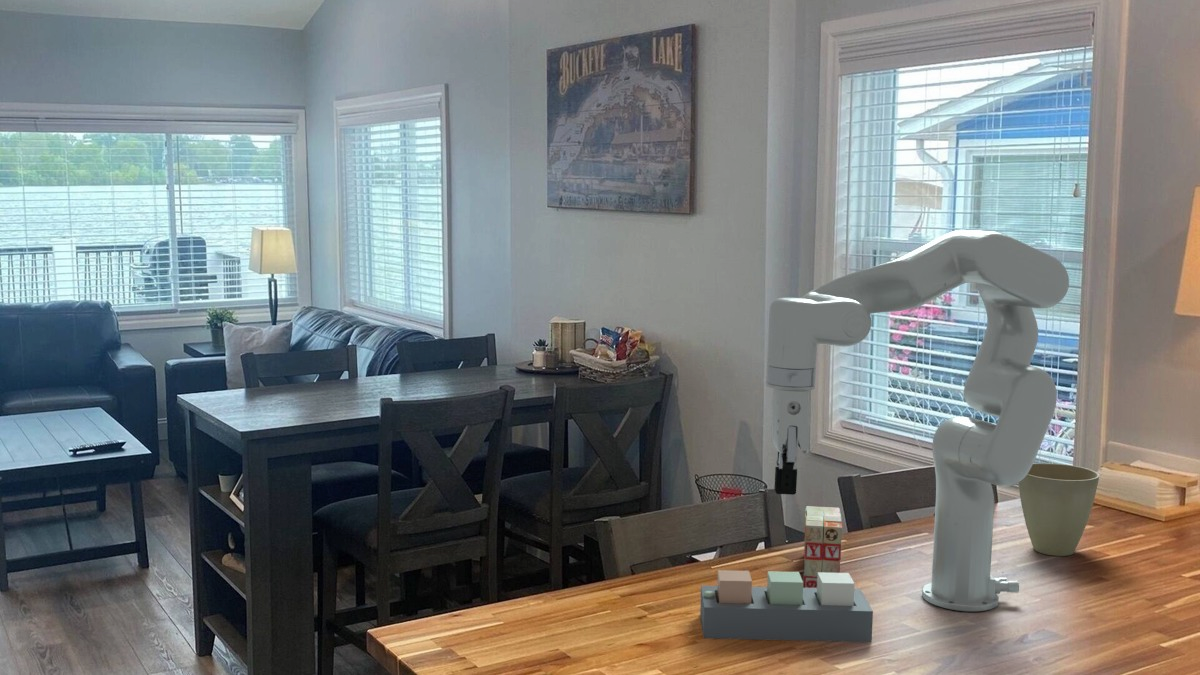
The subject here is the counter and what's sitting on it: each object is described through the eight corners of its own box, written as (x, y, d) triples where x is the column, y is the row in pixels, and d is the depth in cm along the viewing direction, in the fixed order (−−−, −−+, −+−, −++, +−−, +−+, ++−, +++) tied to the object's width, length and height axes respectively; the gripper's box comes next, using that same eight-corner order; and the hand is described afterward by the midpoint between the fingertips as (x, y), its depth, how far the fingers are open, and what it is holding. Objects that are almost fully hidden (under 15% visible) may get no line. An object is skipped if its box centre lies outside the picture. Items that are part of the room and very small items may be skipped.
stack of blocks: (803, 554, 221) (805, 492, 220) (836, 557, 220) (839, 494, 219) (803, 592, 200) (805, 524, 199) (839, 595, 199) (842, 526, 198)
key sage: (797, 601, 185) (798, 571, 185) (802, 613, 180) (803, 582, 180) (766, 601, 186) (767, 571, 185) (770, 612, 181) (771, 581, 180)
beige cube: (748, 600, 186) (748, 570, 185) (751, 611, 181) (751, 581, 180) (717, 600, 186) (717, 570, 185) (719, 611, 181) (719, 580, 180)
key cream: (847, 602, 185) (848, 573, 185) (853, 614, 180) (854, 583, 180) (816, 602, 185) (817, 572, 185) (821, 613, 180) (822, 582, 180)
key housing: (859, 618, 188) (860, 585, 187) (871, 642, 178) (873, 607, 177) (700, 614, 189) (701, 581, 188) (703, 638, 179) (704, 603, 178)
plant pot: (1100, 547, 227) (1105, 468, 225) (1086, 567, 215) (1092, 484, 213) (1021, 534, 235) (1026, 458, 233) (1004, 553, 223) (1008, 473, 221)
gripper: (822, 386, 171) (816, 506, 173) (808, 371, 186) (802, 482, 188) (772, 384, 171) (766, 504, 173) (761, 369, 186) (756, 480, 188)
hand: (785, 492), depth 180 cm, fingers closed
